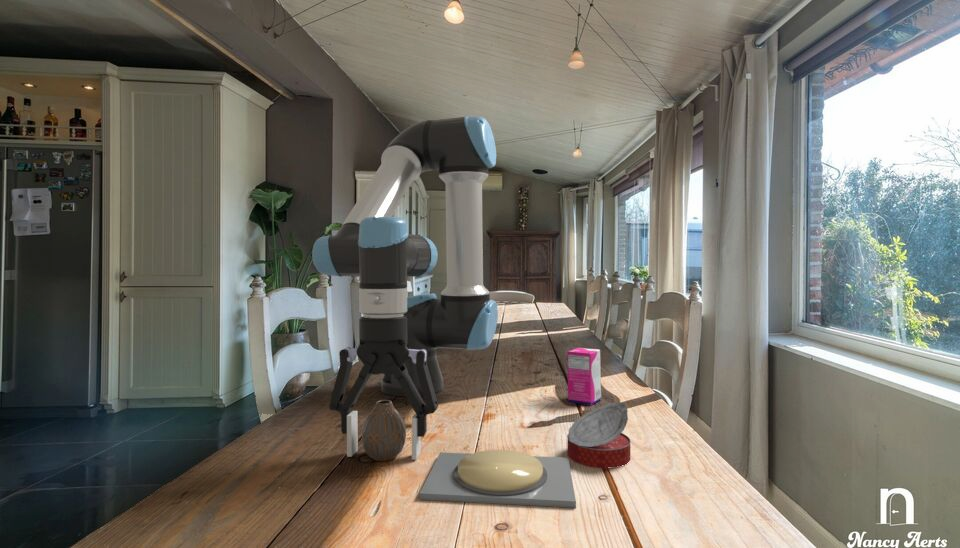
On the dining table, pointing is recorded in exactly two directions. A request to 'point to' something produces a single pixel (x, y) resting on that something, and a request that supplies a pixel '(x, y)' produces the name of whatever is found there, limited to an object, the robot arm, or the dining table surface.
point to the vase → (383, 432)
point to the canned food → (600, 437)
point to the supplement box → (584, 376)
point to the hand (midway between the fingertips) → (384, 454)
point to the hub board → (500, 479)
